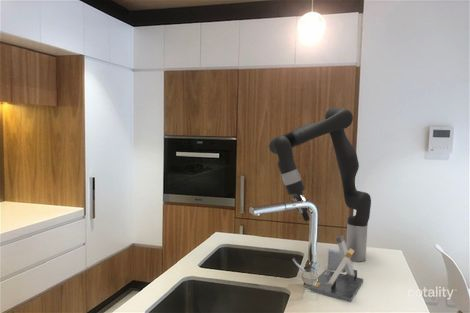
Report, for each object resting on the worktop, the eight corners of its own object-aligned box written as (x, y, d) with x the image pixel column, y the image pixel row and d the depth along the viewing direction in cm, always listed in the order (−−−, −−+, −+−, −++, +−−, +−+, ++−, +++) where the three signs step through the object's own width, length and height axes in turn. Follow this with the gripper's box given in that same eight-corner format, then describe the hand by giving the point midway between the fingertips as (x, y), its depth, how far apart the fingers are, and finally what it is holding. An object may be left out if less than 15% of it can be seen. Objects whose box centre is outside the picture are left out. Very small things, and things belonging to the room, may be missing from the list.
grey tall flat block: (351, 276, 148) (338, 235, 150) (356, 276, 147) (343, 234, 149) (348, 280, 144) (335, 238, 146) (353, 280, 143) (340, 237, 145)
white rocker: (327, 282, 140) (350, 247, 135) (332, 286, 139) (355, 251, 134) (324, 287, 136) (346, 251, 131) (329, 290, 135) (352, 255, 130)
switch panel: (325, 273, 155) (325, 263, 155) (363, 282, 147) (363, 271, 147) (309, 290, 138) (309, 279, 138) (350, 302, 130) (351, 290, 130)
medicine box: (345, 268, 161) (346, 249, 160) (346, 272, 157) (347, 253, 156) (327, 266, 163) (328, 247, 163) (327, 269, 159) (328, 251, 158)
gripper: (306, 178, 144) (321, 218, 144) (295, 179, 157) (308, 216, 157) (290, 184, 143) (304, 225, 142) (280, 185, 156) (293, 222, 155)
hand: (306, 220), depth 149 cm, fingers closed
